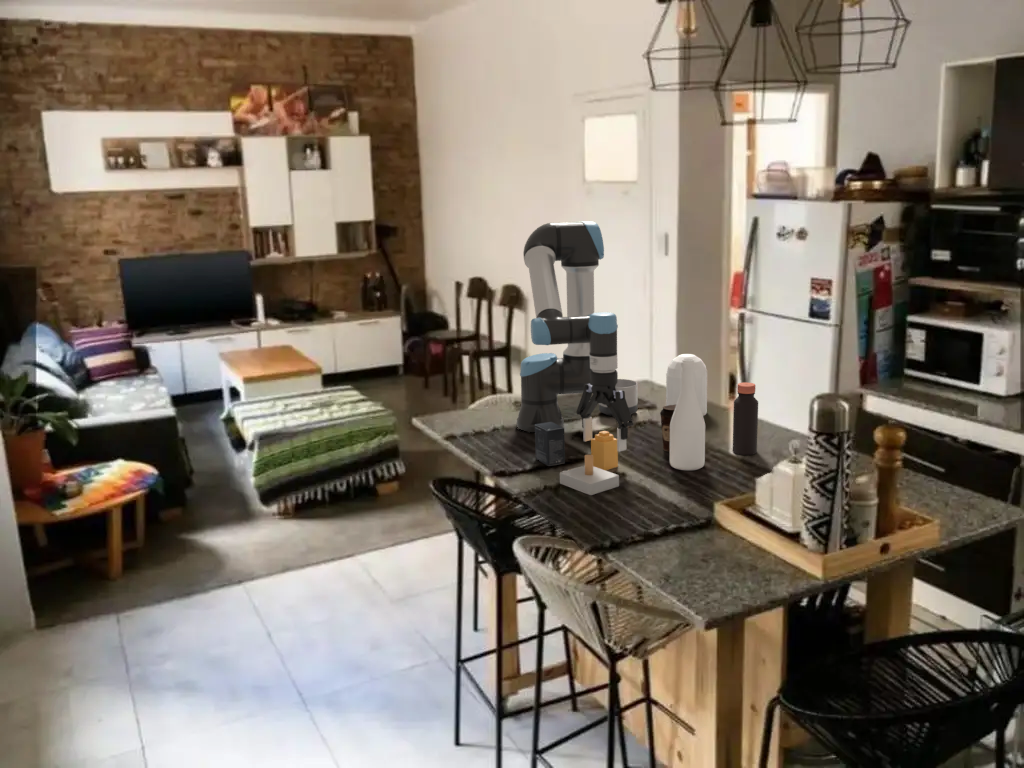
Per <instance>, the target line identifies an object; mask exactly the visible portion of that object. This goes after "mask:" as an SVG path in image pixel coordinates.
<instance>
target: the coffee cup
mask: <svg viewBox="0 0 1024 768" xmlns="http://www.w3.org/2000/svg"><path fill="white" fill-rule="evenodd" d="M675 407H676V405H668V406H666V405H663V406H662V410H660V413H659V414H660V424H661V425H660V426H661V439H662V447H663V450H664V451H665V452H668V453H670V422H671V419H672V416H673V413H674V410H675Z"/></svg>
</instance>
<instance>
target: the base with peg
mask: <svg viewBox="0 0 1024 768" xmlns="http://www.w3.org/2000/svg"><path fill="white" fill-rule="evenodd" d="M559 484H560V485H563V486H566V487H568V488H570V489H574V490H576V491H579V492H581V493H584V494H586V495H588V496H593V495H595V494H599V493H602V492H606V491H608V490H611V489H615V488H618V487H619V486H620V475H619V474H616V473H613V472H611V471H609V470H606V471H605V470H603V469H600V468H597V467H594V466H593V455H591V453H590V454H585V455H584V464H583V465H581V466H578V467H574V468H568V469H565V470H563V471H561V472H559Z"/></svg>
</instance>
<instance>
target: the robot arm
mask: <svg viewBox="0 0 1024 768" xmlns="http://www.w3.org/2000/svg"><path fill="white" fill-rule="evenodd" d="M602 235H603V234H602V231H601V228H600V226H599V224H598V223H597V222H595V221H584V220H583V221H568V222H566V221H565V222H547V223H545V224H541V226H538V227H537V228H536V229H534V231H532V233H530V235H529V236H528V238H527V240H526V242H525V244H524V248H523V261H524V265H525V266H526V268H527V269H528V272H529V280H530V286H531V287H530V288H531V291H532V292H531V293H532V299H533V306H534V313H535V317H534V318H532V319H531V321H530V336H531V337H530V339H531V342H532V344H533V345H536V346H551V345H553V346H554V345H567V347H566V348H565V349H564V350H563V352H562V357H558V356H557V354H556V353H553V352H549V353H548V352H544V353H538V354H532V355H530V356H527V357H525V358H524V359H522V361H521V362H520V372H519V376H520V394H521V397H520V398H521V399H520V401H521V405H520V408H519V411H518V417H517V419H516V428H517V427H518V428H519V429H521V430H524V431H528V432H527V433H530V432H535V424H540V423H547V422H553V423H555V424H557V425H559V426H561V427H564V417H563V414H562V411H561V408H560V405H559V402H558V400H559V399H558V395H571V394H581V398H580V401H579V402H578V407H577V409H576V415H579V416H580V417H581V427H582V429H583V430H582V432H583V442H588V441H591V439H593V417H592V414H593V411H594V410H595V409H596V407H597V406H598V405H599V403H602V404H604V405H606V406H607V407H609V408H610V410H611V412H612V414H613V416H614V417H613V416H612V417H613V418H614V419H615V422H616V424H617V426H618V427H617V428H616V437H617V438H616V439H617V451H618V453H620V452H623V451H624V452H625V451H626V450H627V449H628V448H627V439H629V435H628V433H629V427H632V426H634V425H635V424H634V419H633V417H632V414H630V411H629V408H628V405H627V402H626V399H625V392H624V390H621V391H616V388H615V386H616V384H617V383H618V379H619V377H618V376H619V375H618V328H619V327H618V325H619V324H618V320H617V315H616V314H615V313H614V312H609V311H607V312H606V311H600V312H599V311H598V312H595V270H596V269H597V267H599V265H600V264H599V260H602V259H604V257H605V247H604V239H603V236H602ZM555 262H560V263H561V265H560V266H561V268H562V269H564V271H565V273H566V278H565V279H566V316H563V314H564V313H563V310H562V303H561V299H560V294H559V293H560V291H559V286H558V281H557V275H556V271H555V265H554V264H555ZM612 401H613V402H612ZM518 428H517V429H518ZM519 429H518V430H519ZM521 430H520V431H521ZM524 431H523V432H524Z"/></svg>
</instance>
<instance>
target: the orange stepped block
mask: <svg viewBox="0 0 1024 768" xmlns="http://www.w3.org/2000/svg"><path fill="white" fill-rule="evenodd" d="M614 436H615V435H614V434H613V433H610V432H609V431H606V430H602V431H599V432H598V434H594V438H593V437H592V439H591V440H590V455H593V466H594V467H597V468H600V469H603V470H605V471H610V470H611V469H615V468H618V467H619V451H617V438H616V437H614Z"/></svg>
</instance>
